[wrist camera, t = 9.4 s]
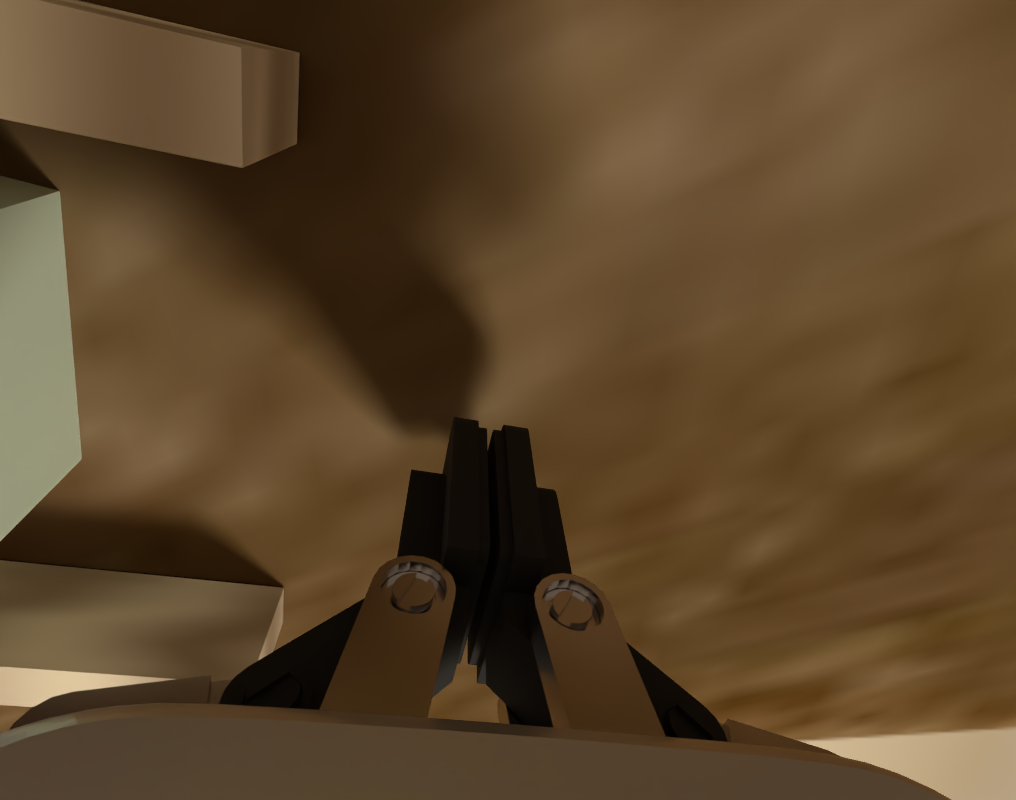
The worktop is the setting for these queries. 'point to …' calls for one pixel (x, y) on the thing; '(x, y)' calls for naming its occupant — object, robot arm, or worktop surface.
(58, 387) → the pale green block
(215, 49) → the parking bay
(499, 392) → the worktop surface
